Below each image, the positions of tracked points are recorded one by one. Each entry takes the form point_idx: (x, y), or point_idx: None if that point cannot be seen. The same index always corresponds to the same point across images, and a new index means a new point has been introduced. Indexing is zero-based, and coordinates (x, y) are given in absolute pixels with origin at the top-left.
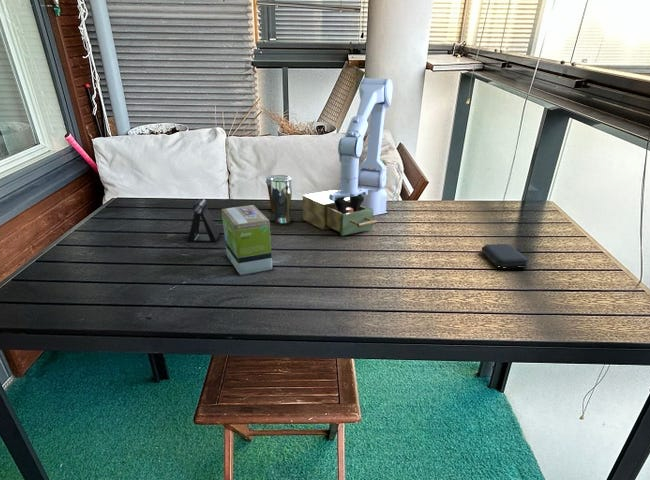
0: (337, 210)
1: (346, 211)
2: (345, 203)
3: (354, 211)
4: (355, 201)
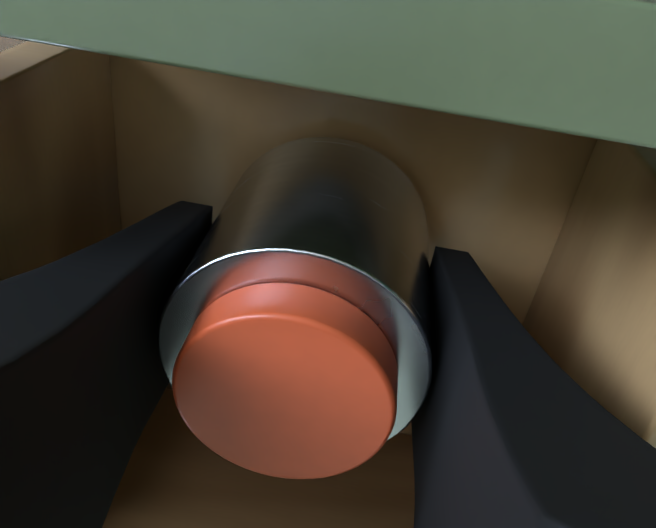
0: (287, 523)
1: (391, 351)
2: (644, 512)
3: (199, 265)
4: (34, 466)
